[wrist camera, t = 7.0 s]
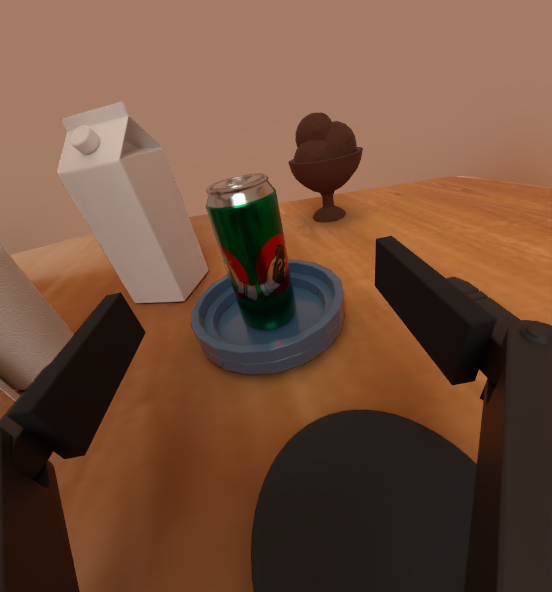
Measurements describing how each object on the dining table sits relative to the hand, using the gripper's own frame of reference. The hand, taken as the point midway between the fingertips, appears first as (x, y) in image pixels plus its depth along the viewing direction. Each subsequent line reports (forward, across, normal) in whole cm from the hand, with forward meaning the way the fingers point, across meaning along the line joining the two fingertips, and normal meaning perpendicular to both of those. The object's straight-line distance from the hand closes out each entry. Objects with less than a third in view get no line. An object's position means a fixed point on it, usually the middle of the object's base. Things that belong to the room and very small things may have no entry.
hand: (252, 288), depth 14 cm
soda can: (+8, 0, -8) cm, 11 cm away
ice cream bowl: (+33, +12, -9) cm, 36 cm away
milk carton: (+18, -12, -9) cm, 24 cm away
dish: (+8, 0, -8) cm, 11 cm away
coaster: (-8, +4, -8) cm, 12 cm away
